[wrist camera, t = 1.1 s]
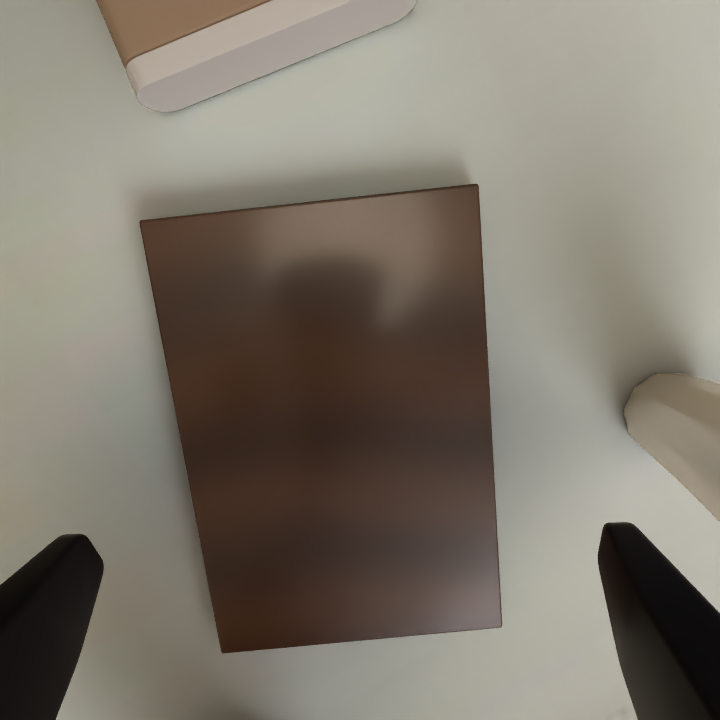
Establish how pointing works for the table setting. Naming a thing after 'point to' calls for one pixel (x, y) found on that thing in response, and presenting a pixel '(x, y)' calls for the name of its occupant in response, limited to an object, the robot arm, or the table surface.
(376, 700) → the table surface
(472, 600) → the walnut board
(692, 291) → the table surface
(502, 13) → the table surface
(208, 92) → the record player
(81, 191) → the table surface
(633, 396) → the milkshake
